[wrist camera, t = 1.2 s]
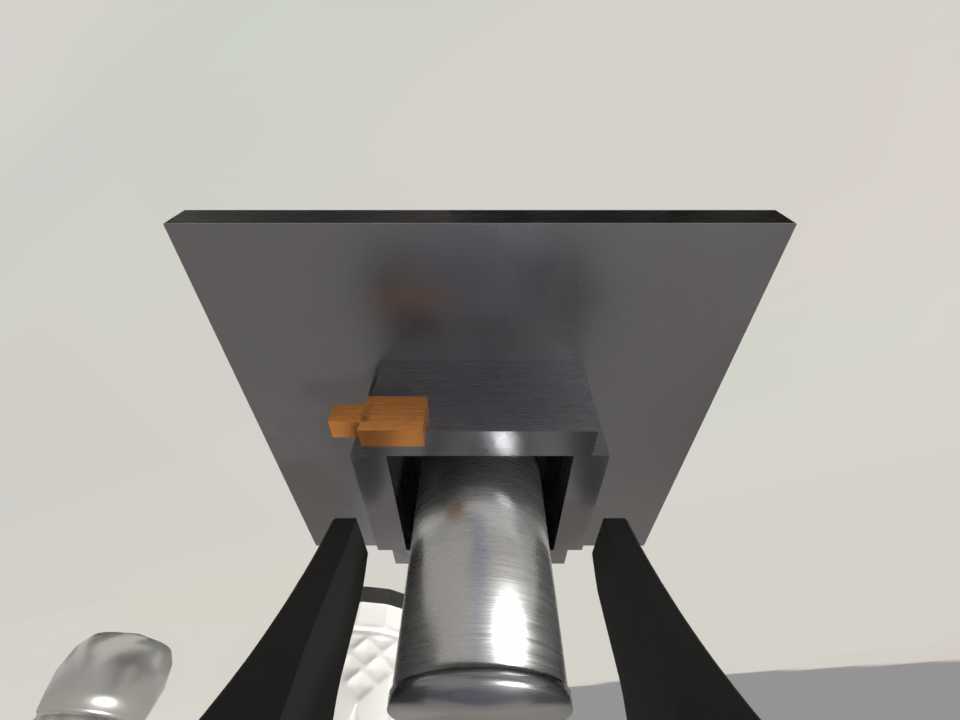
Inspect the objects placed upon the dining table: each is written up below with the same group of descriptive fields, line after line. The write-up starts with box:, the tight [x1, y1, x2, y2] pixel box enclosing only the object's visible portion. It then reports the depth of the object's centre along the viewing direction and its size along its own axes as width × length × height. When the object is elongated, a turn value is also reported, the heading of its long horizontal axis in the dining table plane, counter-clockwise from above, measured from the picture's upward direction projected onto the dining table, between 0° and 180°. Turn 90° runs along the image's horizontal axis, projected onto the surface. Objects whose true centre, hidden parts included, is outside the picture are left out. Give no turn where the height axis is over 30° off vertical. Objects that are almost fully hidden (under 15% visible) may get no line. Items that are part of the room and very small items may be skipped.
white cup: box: [333, 586, 404, 720], centre depth 24 cm, size 8×8×10 cm
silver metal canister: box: [387, 456, 573, 720], centre depth 13 cm, size 4×4×8 cm
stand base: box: [163, 210, 797, 564], centre depth 15 cm, size 16×16×4 cm
